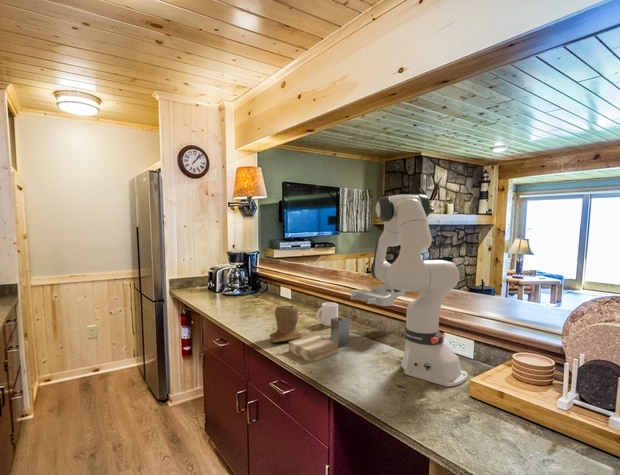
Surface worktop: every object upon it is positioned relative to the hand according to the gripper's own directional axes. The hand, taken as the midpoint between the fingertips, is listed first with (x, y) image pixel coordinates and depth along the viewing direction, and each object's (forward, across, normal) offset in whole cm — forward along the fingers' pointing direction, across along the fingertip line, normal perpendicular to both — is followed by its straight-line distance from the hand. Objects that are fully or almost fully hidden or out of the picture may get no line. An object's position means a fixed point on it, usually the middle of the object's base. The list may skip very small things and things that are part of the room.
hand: (359, 299), depth 157 cm
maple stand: (+27, 0, +17) cm, 32 cm away
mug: (-2, -24, +18) cm, 30 cm away
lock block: (+12, 0, +17) cm, 21 cm away
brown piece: (+27, -20, +18) cm, 38 cm away
